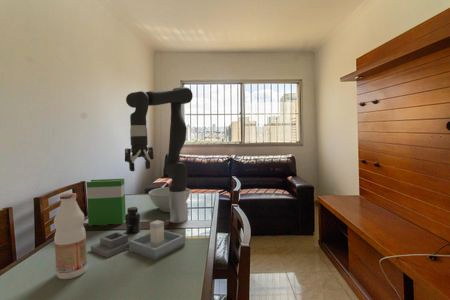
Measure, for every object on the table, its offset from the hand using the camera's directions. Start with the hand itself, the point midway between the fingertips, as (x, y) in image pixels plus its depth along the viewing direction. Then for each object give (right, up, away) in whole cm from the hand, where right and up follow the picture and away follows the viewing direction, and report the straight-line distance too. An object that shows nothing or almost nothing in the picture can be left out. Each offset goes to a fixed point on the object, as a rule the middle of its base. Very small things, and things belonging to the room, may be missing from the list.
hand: (140, 169), depth 119 cm
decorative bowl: (+4, -30, +48) cm, 56 cm away
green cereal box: (-26, -32, +23) cm, 47 cm away
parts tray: (+11, -33, -10) cm, 36 cm away
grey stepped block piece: (-8, -33, -9) cm, 35 cm away
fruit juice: (-14, -34, -29) cm, 47 cm away
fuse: (+11, -32, -10) cm, 35 cm away
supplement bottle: (-7, -32, +9) cm, 34 cm away
